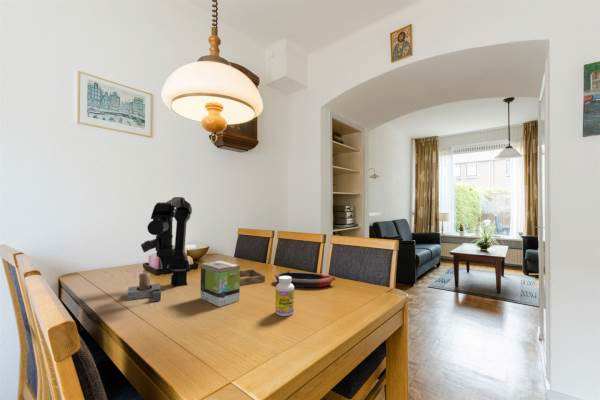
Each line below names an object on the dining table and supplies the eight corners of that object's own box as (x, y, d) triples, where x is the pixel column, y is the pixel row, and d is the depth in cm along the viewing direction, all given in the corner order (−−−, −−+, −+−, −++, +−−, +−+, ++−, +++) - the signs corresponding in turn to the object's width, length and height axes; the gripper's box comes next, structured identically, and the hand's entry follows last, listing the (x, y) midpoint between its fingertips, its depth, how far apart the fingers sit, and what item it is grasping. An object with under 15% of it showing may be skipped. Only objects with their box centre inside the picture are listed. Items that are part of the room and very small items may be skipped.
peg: (149, 292, 119) (150, 272, 120) (149, 295, 116) (150, 274, 116) (139, 294, 117) (139, 273, 118) (139, 297, 114) (139, 275, 114)
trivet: (253, 274, 152) (253, 269, 152) (264, 281, 138) (264, 275, 138) (223, 278, 144) (223, 272, 144) (232, 286, 129) (232, 280, 129)
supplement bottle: (276, 317, 93) (276, 280, 93) (274, 310, 99) (274, 275, 100) (295, 316, 94) (295, 279, 95) (292, 309, 101) (292, 274, 101)
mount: (159, 290, 123) (159, 283, 123) (160, 295, 116) (160, 288, 116) (128, 294, 117) (128, 287, 118) (127, 300, 110) (127, 293, 110)
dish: (280, 278, 145) (280, 269, 145) (337, 282, 137) (337, 272, 137) (269, 286, 130) (270, 276, 130) (333, 291, 122) (333, 280, 122)
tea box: (240, 301, 109) (240, 264, 110) (218, 307, 102) (218, 268, 103) (220, 292, 120) (221, 259, 120) (199, 298, 112) (199, 262, 113)
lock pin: (159, 292, 119) (159, 284, 120) (160, 300, 109) (160, 292, 109) (152, 293, 118) (152, 285, 118) (152, 301, 108) (153, 293, 108)
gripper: (142, 231, 116) (142, 267, 116) (142, 235, 100) (141, 278, 100) (171, 230, 122) (170, 265, 121) (175, 234, 105) (174, 274, 105)
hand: (164, 270), depth 112 cm, fingers closed
